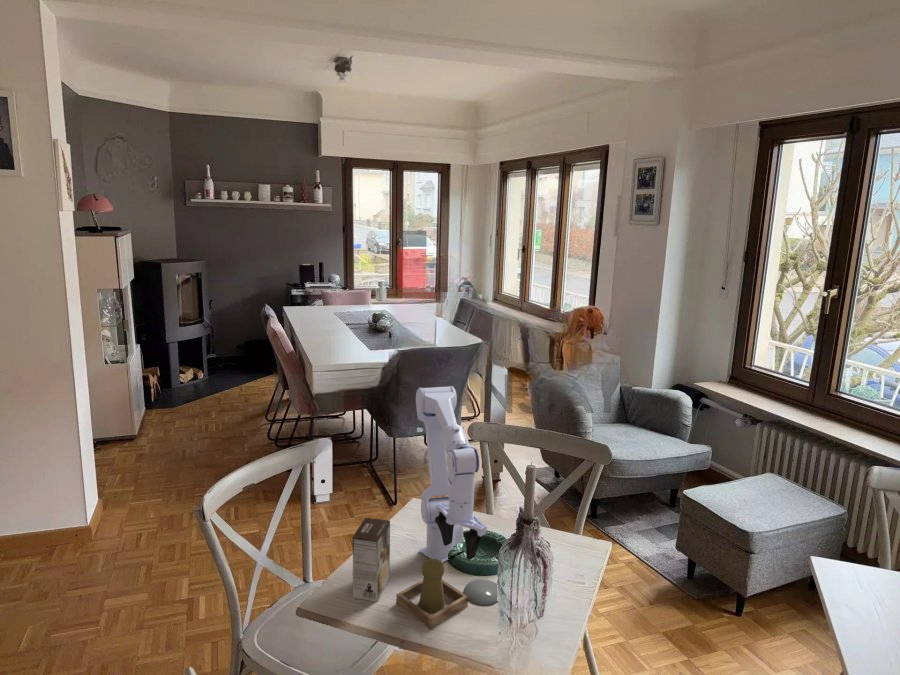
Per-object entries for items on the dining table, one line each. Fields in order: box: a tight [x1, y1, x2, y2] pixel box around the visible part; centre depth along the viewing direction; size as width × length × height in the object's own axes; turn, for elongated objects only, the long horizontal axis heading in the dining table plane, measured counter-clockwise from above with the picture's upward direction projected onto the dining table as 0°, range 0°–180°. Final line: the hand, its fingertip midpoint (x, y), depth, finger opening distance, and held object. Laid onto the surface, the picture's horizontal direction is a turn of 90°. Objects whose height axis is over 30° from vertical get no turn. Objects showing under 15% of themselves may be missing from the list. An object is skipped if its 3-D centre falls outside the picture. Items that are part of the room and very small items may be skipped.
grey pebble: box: [463, 579, 498, 606], centre depth 147 cm, size 9×9×1 cm
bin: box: [395, 579, 469, 630], centre depth 141 cm, size 12×12×2 cm
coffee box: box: [352, 517, 391, 602], centre depth 145 cm, size 9×6×16 cm
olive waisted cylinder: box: [418, 558, 446, 615], centre depth 140 cm, size 6×6×11 cm
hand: (459, 550), depth 145 cm, fingers open, 7 cm apart
